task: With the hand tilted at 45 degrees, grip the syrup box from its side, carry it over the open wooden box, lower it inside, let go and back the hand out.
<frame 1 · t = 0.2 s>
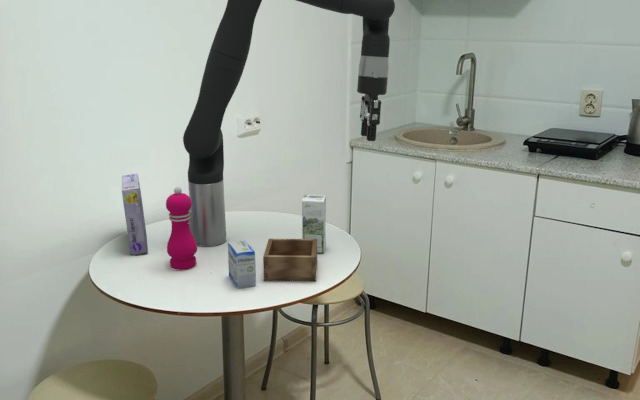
hand: (367, 138, 153), 28 cm above the table, tool pointing down, fingers open, 8 cm apart
pepper mill: (183, 266, 145), on the table
syrup box: (314, 250, 155), on the table
open wooden box: (291, 270, 142), on the table
medicine box: (242, 281, 136), on the table
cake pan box: (137, 243, 160), on the table
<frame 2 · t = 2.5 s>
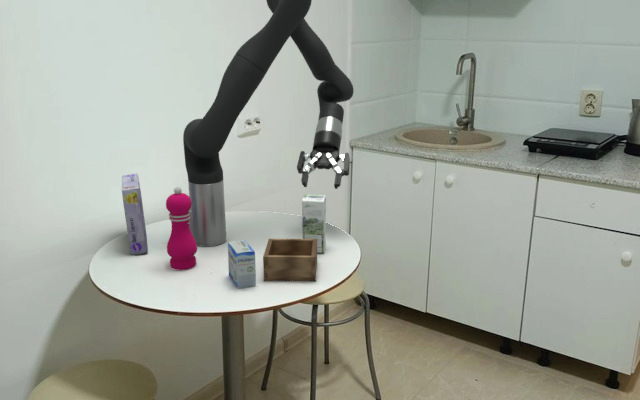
hand: (320, 186, 159), 15 cm above the table, tool tilted 45°, fingers open, 8 cm apart
nothing on the table moved.
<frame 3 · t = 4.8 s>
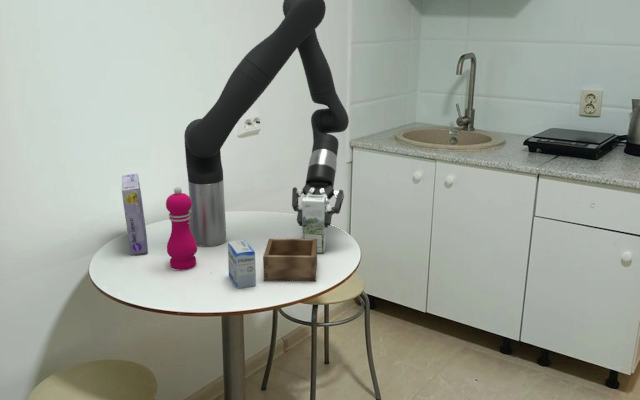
hand: (313, 225, 151), 7 cm above the table, tool tilted 45°, fingers closed on syrup box, 6 cm apart
syrup box: (314, 250, 155), on the table, touching gripper
everything else where it was.
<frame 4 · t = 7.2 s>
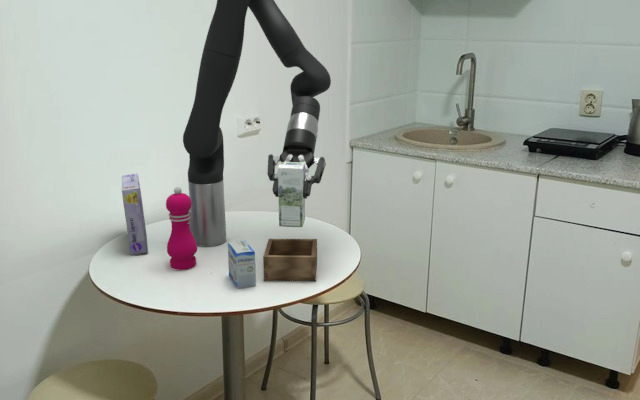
hand: (290, 195, 136), 19 cm above the table, tool tilted 45°, fingers closed on syrup box, 6 cm apart
syrup box: (292, 224, 140), point 11 cm above the table, touching gripper
everything else where it was.
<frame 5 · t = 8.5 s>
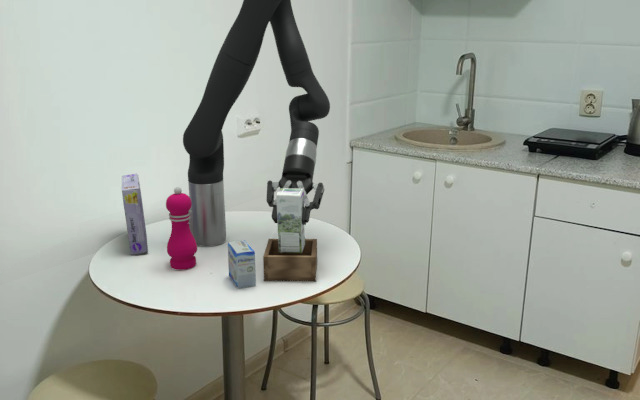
hand: (289, 222, 137), 13 cm above the table, tool tilted 45°, fingers closed on syrup box, 6 cm apart
syrup box: (292, 250, 140), point 5 cm above the table, touching gripper
everything else where it was.
when the fingers open (10 cm above the table, at t = 9.5 s): syrup box drops 2 cm, resting on open wooden box.
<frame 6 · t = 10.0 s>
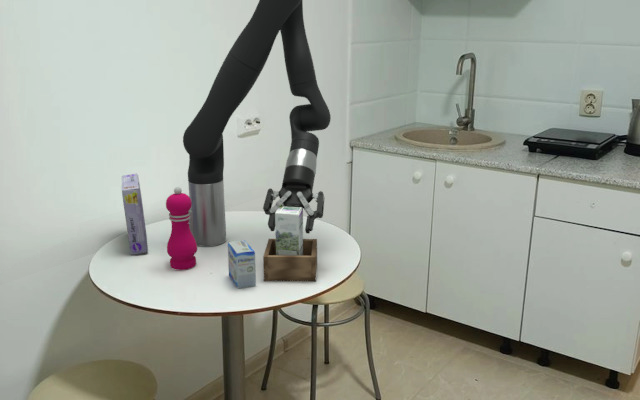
hand: (289, 230, 137), 11 cm above the table, tool tilted 45°, fingers open, 8 cm apart
syrup box: (290, 267, 142), point 1 cm above the table, touching open wooden box
everything else where it was.
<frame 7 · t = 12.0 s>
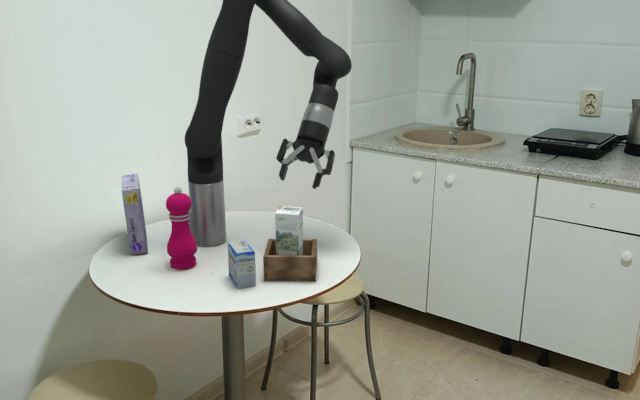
hand: (298, 184, 148), 18 cm above the table, tool tilted 30°, fingers open, 8 cm apart
nothing on the table moved.
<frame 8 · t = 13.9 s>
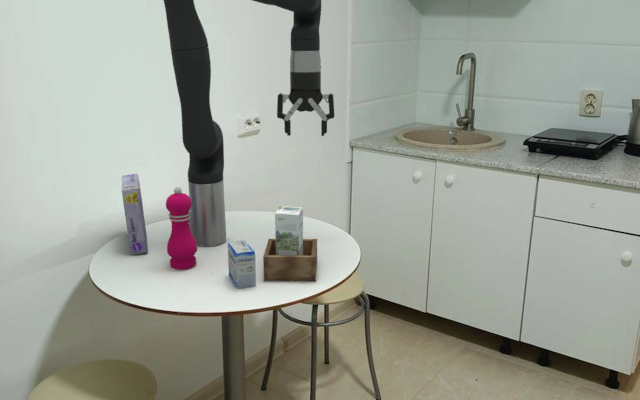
hand: (306, 135, 148), 30 cm above the table, tool pointing down, fingers open, 8 cm apart
nothing on the table moved.
at the end: syrup box inside the target area on the open wooden box (0.5 cm from its centre), point 0.8 cm above the open wooden box's base; syrup box tilted 0°; the gripper is holding nothing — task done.
